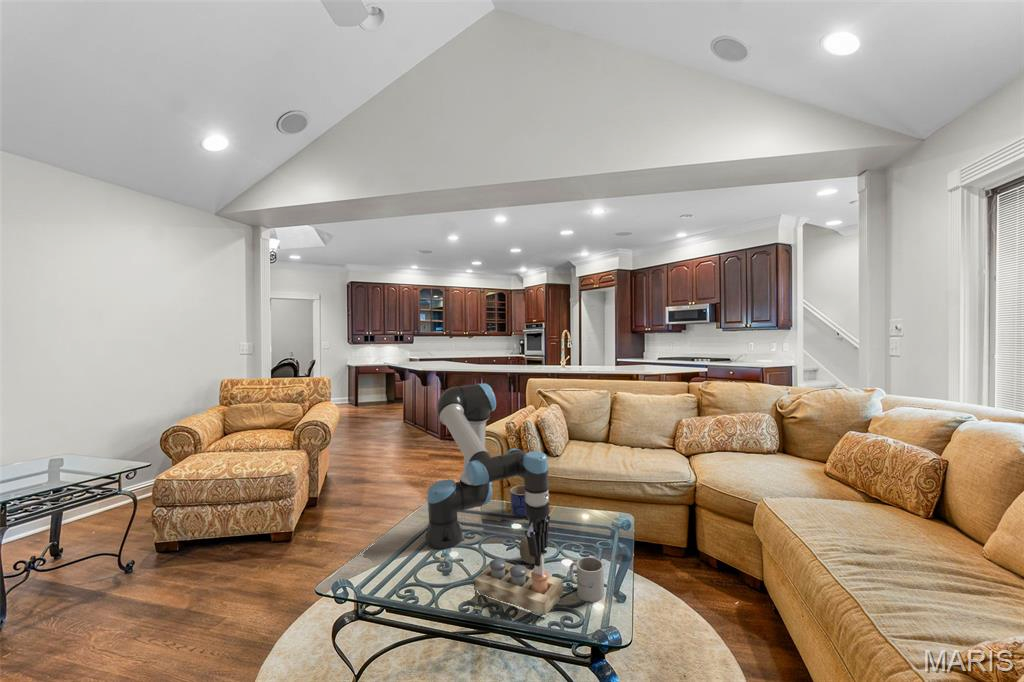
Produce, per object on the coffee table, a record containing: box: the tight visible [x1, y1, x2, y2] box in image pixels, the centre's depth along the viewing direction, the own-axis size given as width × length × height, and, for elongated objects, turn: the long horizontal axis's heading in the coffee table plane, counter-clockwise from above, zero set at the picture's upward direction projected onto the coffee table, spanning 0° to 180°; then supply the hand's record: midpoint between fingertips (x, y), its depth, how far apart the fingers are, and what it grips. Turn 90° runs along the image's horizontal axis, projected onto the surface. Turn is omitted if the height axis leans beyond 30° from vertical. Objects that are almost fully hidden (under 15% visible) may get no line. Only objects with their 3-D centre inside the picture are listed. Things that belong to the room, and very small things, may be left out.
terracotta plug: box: [531, 569, 549, 595], centre depth 144 cm, size 5×5×7 cm
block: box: [474, 562, 564, 615], centre depth 149 cm, size 26×13×5 cm, turn 59°
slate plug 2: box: [510, 564, 527, 587], centre depth 148 cm, size 5×5×7 cm
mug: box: [569, 556, 605, 603], centre depth 149 cm, size 12×9×10 cm
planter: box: [509, 484, 528, 518], centre depth 205 cm, size 11×11×11 cm
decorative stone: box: [519, 535, 546, 565], centre depth 166 cm, size 10×8×10 cm
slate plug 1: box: [489, 558, 507, 580], centre depth 152 cm, size 5×5×7 cm
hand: (539, 573), depth 144 cm, fingers closed
